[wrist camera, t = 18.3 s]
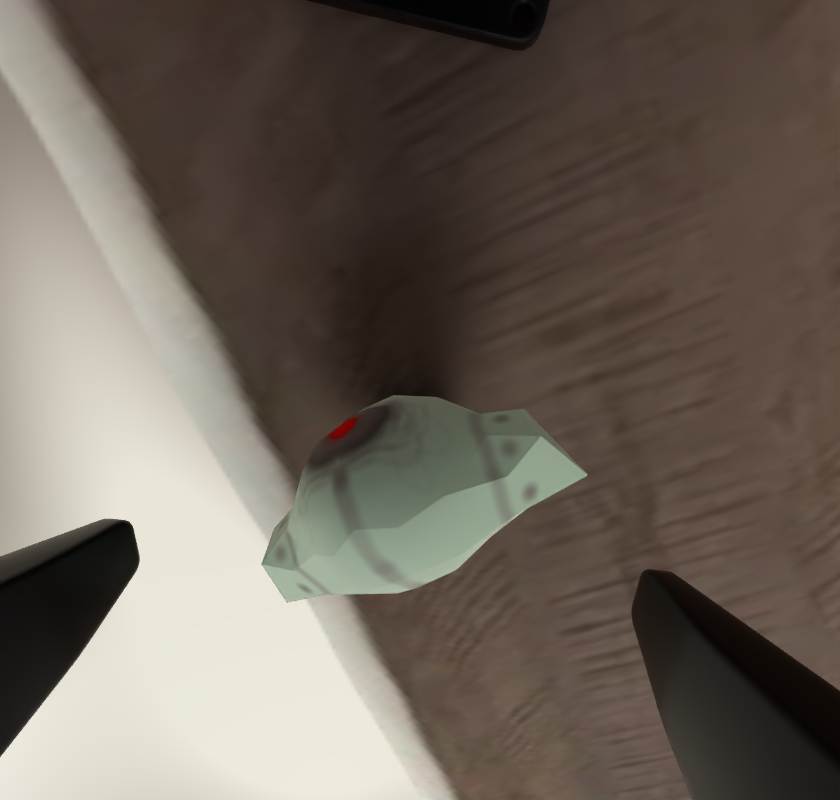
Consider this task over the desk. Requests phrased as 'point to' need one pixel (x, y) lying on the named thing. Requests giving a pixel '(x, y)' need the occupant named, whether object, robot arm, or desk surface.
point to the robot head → (410, 495)
